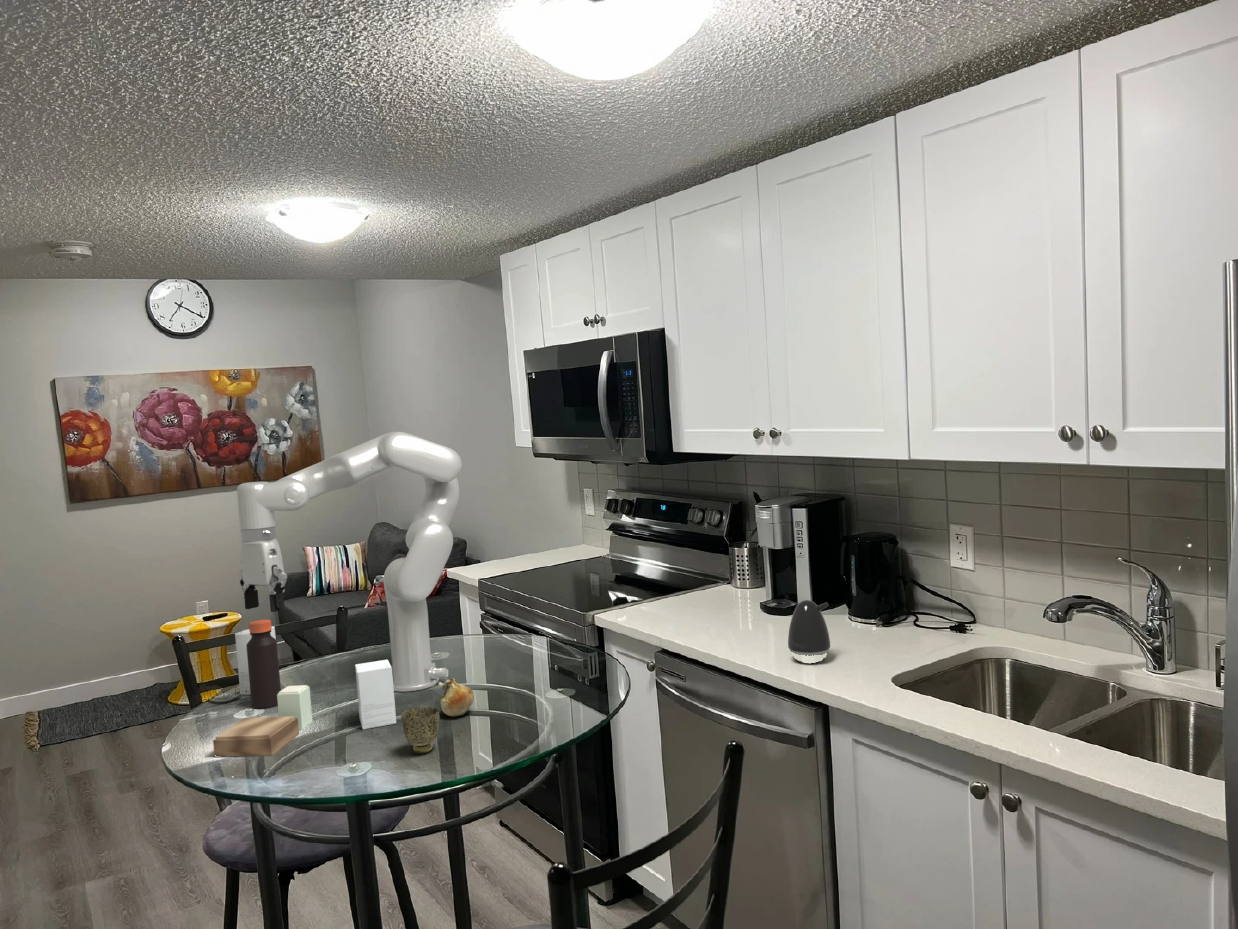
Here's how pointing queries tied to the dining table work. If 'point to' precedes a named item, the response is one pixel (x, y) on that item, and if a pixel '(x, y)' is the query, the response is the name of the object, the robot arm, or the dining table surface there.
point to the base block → (256, 736)
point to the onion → (455, 698)
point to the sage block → (296, 704)
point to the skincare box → (245, 659)
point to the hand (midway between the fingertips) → (264, 609)
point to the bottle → (263, 665)
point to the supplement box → (375, 694)
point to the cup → (421, 727)
